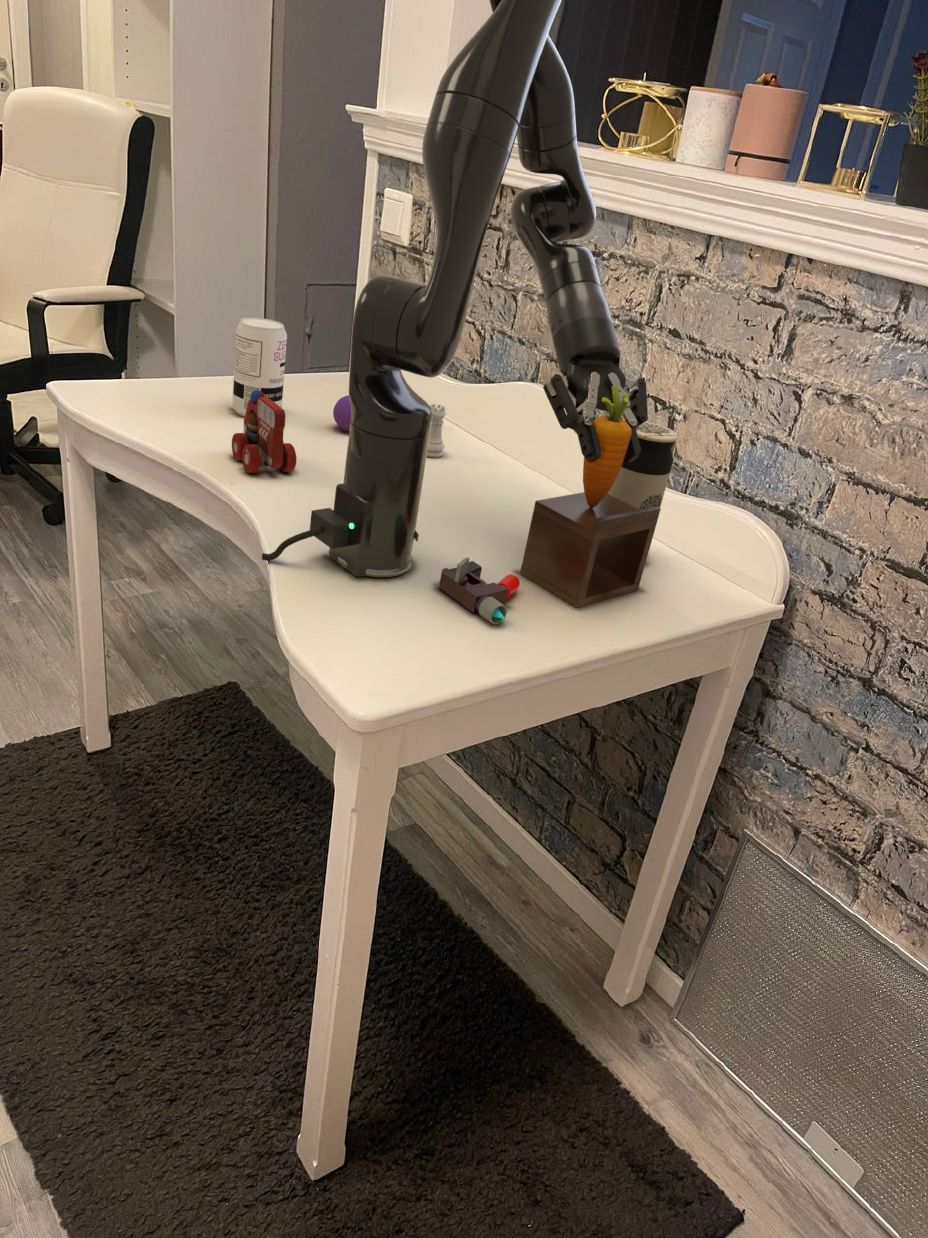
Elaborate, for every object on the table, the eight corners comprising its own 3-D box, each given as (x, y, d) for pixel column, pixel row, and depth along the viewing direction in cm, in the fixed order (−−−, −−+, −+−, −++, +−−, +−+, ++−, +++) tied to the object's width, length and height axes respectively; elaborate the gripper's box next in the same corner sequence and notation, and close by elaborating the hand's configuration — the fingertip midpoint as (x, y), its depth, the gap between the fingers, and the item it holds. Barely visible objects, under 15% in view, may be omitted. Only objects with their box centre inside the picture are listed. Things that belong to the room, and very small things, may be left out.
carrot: (609, 519, 114) (641, 398, 107) (569, 510, 114) (598, 389, 107) (611, 505, 118) (642, 388, 111) (573, 496, 119) (601, 379, 111)
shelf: (576, 607, 114) (598, 521, 108) (519, 573, 120) (537, 489, 115) (638, 589, 121) (661, 508, 116) (581, 558, 128) (601, 479, 122)
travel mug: (579, 541, 133) (609, 418, 124) (627, 541, 136) (659, 420, 127) (606, 566, 126) (639, 438, 118) (655, 566, 129) (691, 440, 121)
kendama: (444, 409, 166) (350, 405, 153) (433, 438, 169) (340, 437, 156) (425, 392, 169) (332, 387, 156) (415, 422, 172) (323, 420, 159)
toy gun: (492, 631, 105) (499, 593, 103) (427, 585, 112) (433, 548, 110) (553, 615, 111) (561, 579, 109) (487, 572, 118) (494, 537, 116)
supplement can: (229, 403, 162) (233, 314, 155) (277, 407, 164) (284, 319, 157) (234, 418, 155) (239, 326, 148) (284, 421, 158) (291, 331, 151)
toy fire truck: (270, 449, 145) (274, 382, 140) (299, 479, 136) (305, 409, 131) (225, 450, 141) (228, 382, 136) (253, 481, 132) (257, 409, 127)
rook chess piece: (447, 458, 155) (455, 411, 151) (422, 457, 153) (429, 410, 150) (438, 449, 159) (445, 402, 155) (413, 448, 157) (420, 401, 153)
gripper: (548, 309, 108) (580, 445, 105) (646, 317, 115) (680, 446, 111) (517, 343, 115) (547, 473, 111) (612, 349, 121) (643, 471, 118)
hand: (613, 458), depth 111 cm, fingers closed on carrot, 5 cm apart
